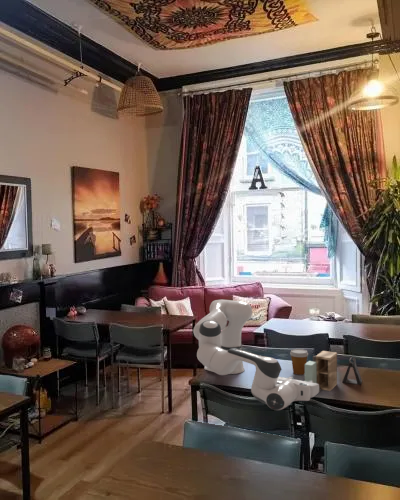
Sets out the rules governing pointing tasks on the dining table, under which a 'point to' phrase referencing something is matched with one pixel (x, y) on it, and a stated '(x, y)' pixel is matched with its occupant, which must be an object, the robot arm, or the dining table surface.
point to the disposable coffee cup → (299, 360)
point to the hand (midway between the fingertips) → (301, 380)
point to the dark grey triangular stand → (357, 375)
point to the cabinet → (326, 370)
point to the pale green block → (310, 371)
